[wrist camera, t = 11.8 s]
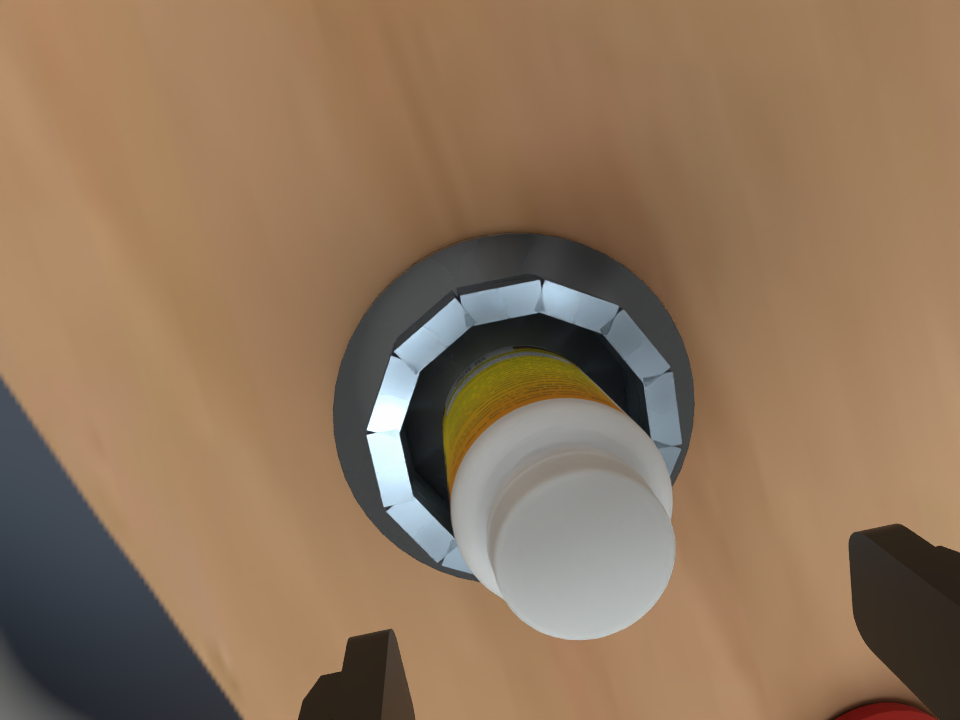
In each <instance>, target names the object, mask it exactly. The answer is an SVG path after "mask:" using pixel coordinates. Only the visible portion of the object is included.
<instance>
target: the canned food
mask: <svg viewBox="0 0 960 720" xmlns="http://www.w3.org/2000/svg"><path fill="white" fill-rule="evenodd" d="M835 720H938V719H936V718H934V717H932V716H930V715H928V714H927V713H925V712H923V711H921V710H918V709H916V708H914V707H912V706H909V705H905V704H900V703H876V704H870V705H865V706H862V707H859V708H857V709H854V710H851V711H849V712H847V713H845V714H843V715H842V716H840V717H838V718H836V719H835Z"/></svg>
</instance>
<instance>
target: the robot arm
mask: <svg viewBox="0 0 960 720" xmlns="http://www.w3.org/2000/svg"><path fill="white" fill-rule="evenodd" d="M849 560H850V575H851V590H852V605H853V614H854V619H855V622H856V625H857V628H858V630H859V632H860V635H861V636H862V638H863V640H864V642H865V643H866V645H867V646H868V647H869V649H870V650H871V651H872V652H873V653H874V654H875V655H876V656H877V657H878V658H879V659H880V660H881V661H882V662H883V663H884V664H885V665H886V666H887V667H888V668H889V669H890V670H891V671H892V672H893V673H894V674H895V675H896V676H897V677H898V678H899V679H900V680H901V681H902V682H903V683H904V684H905V685H906V686H907V687H908V688H909V689H910V690H911V691H912V692H913V693H914V694H915V695H916V696H917V697H918V698H919V699H920V700H921V701H922V702H923V703H924V704H925V705H926V706H927V707H928V708H929V709H930V710H931V711H932V712H933V713H934V714H935V715H936V716H937V717H938V718H939V719H940V720H960V553H959V552H957V551H954V550H951V549H948V548H946V547H943V546H937V547H935V546H933V545H932V544H930V543H929V542H927V541H926V540H924V539H923V538H921V537H920V536H918V535H917V534H915V533H914V532H912V531H911V530H910V529H908V528H907V527H905V526H903V525H901V524H892V525H887V526H882V527H878V528H873V529H868V530H863V531H859V532H854V533H853V534H852V535H851V536H850V539H849ZM298 720H415V714H414V709H413V704H412V700H411V696H410V692H409V688H408V684H407V680H406V676H405V671H404V667H403V663H402V659H401V655H400V651H399V647H398V643H397V639H396V636H395V633H394V631H393V630H392V629H388V630H383V631H378V632H373V633H369V634H364V635H359V636H354V637H350V638H349V639H348V642H347V646H346V651H345V657H344V662H343V667H342V671H341V672H336V673H331V674H327V675H322V676H320V678H319V679H318V681H317V682H316V683H315V685H314V686H313V687H312V689H311V690H310V692H309V693H308V694H307V696H306V697H305V698H304V700H303V702H302V706H301V710H300V714H299V718H298Z"/></svg>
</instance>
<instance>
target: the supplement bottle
mask: <svg viewBox="0 0 960 720" xmlns="http://www.w3.org/2000/svg"><path fill="white" fill-rule="evenodd" d="M442 435H443V446H444V456H445V467H446V474H447V482H448V492H449V505H450V516H451V524H452V527H453V532H454V537H455V540H456V543H457V546H458V548H459V551H460V553H461V555H462V557H463V559H464V561H465V563H466V564H467V566H468V567H469V569H470V570H471V572H472V573H473V574H474V575H475V576H476V578H477V579H478V580H479V581H480V582H481V583H482V584H483V585H484V586H486V587H487V588H488V589H489V590H490V591H492V592H493V593H495V594H496V595H498V596H499V597H501V598H502V599H504V600H505V601H506V603H507V604H508V606H509V607H510V608H511V610H512V611H513V612H514V613H515V614H516V615H517V616H518V617H519V618H520V619H521V620H522V621H523V622H525V623H526V624H527V625H529V626H531V627H532V628H534V629H536V630H537V631H539V632H542V633H544V634H546V635H549V636H553V637H557V638H562V639H567V640H589V639H596V638H601V637H604V636H608V635H611V634H613V633H616V632H618V631H620V630H623V629H625V628H627V627H628V626H630V625H631V624H633V623H635V622H636V621H637V620H639V619H640V618H641V617H643V616H644V615H645V614H646V613H647V612H648V611H649V610H650V609H651V608H652V607H653V606H654V604H655V603H656V602H657V601H658V599H659V598H660V597H661V595H662V593H663V591H664V590H665V588H666V586H667V584H668V582H669V579H670V577H671V574H672V571H673V566H674V561H675V536H674V531H673V527H672V523H671V517H672V508H673V496H672V485H671V480H670V476H669V472H668V469H667V466H666V464H665V461H664V459H663V457H662V455H661V453H660V452H659V450H658V448H657V447H656V445H655V444H654V442H653V441H652V439H651V438H650V437H649V436H648V435H647V434H646V432H645V431H644V430H643V429H642V428H641V427H640V426H639V425H638V424H637V423H635V422H634V421H633V420H632V419H631V418H630V417H629V416H628V415H627V414H626V413H625V412H624V411H623V410H622V409H621V408H620V407H619V406H618V405H617V404H616V403H615V402H614V401H613V400H612V399H611V398H610V397H609V396H608V395H607V394H606V393H605V392H604V391H603V390H602V389H601V388H600V387H599V386H597V385H596V384H595V383H594V382H593V381H592V380H591V379H590V378H589V377H588V376H587V375H586V374H585V373H584V372H583V371H582V370H581V369H580V368H579V367H577V366H576V365H575V364H574V363H573V362H572V361H570V360H569V359H567V358H566V357H564V356H563V355H561V354H559V353H557V352H555V351H552V350H550V349H547V348H543V347H539V346H532V345H512V346H507V347H502V348H499V349H496V350H493V351H491V352H489V353H486V354H484V355H483V356H481V357H479V358H478V359H476V360H475V361H474V362H472V363H471V364H470V365H469V366H468V367H467V368H466V369H465V370H464V371H463V372H462V373H461V374H460V375H459V376H458V378H457V379H456V381H455V382H454V384H453V385H452V387H451V389H450V391H449V394H448V396H447V399H446V402H445V405H444V410H443V416H442Z"/></svg>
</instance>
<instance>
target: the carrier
mask: <svg viewBox="0 0 960 720" xmlns="http://www.w3.org/2000/svg"><path fill="white" fill-rule="evenodd" d="M512 345H532V346H539V347H543V348H547V349H550V350H552V351H555V352H557V353H559V354H561V355H563V356H564V357H566V358H567V359H569V360H570V361H572V362H573V363H574V364H575V365H576V366H577V367H579V368H580V369H581V370H582V371H583V372H584V373H585V374H586V375H587V376H588V377H589V378H590V379H591V380H592V381H593V382H594V383H595V384H596V385H597V386H599V387H600V388H601V389H602V390H603V391H604V392H605V393H606V394H607V395H608V396H609V397H610V398H611V399H612V400H613V401H614V402H615V403H616V404H617V405H618V406H619V407H620V408H621V409H622V410H623V411H624V412H625V413H626V414H627V415H628V416H629V417H630V418H631V419H632V420H633V421H634V422H635V423H637V424H638V425H639V426H640V427H641V428H642V429H643V430H644V431H645V432H646V434H647V435H648V436H649V437H650V438H651V439H652V441H653V442H654V444H655V445H656V447H657V448H658V450H659V452H660V453H661V455H662V457H663V459H664V461H665V464H666V466H667V469H668V472H669V476H670V480H671V485H672V486H673V484H674V482H675V480H676V478H677V476H678V474H679V472H680V470H681V468H682V465H683V462H684V459H685V456H686V453H687V450H688V447H689V442H690V437H691V432H692V428H693V416H694V388H693V378H692V373H691V368H690V363H689V358H688V355H687V353H686V350H685V347H684V344H683V341H682V338H681V336H680V334H679V332H678V330H677V328H676V326H675V324H674V322H673V320H672V318H671V316H670V315H669V313H668V312H667V310H666V309H665V308H664V306H663V305H662V303H661V302H660V300H659V299H658V298H657V297H656V295H655V294H654V293H653V292H652V291H651V290H650V289H649V288H648V287H647V286H646V285H645V283H644V282H643V281H642V280H640V279H639V278H638V277H637V276H636V275H634V274H633V273H632V272H631V271H629V270H628V269H627V268H626V267H625V266H623V265H621V264H620V263H618V262H617V261H615V260H613V259H612V258H610V257H609V256H607V255H605V254H604V253H601V252H599V251H597V250H594V249H592V248H590V247H588V246H585V245H583V244H580V243H577V242H573V241H570V240H566V239H563V238H559V237H553V236H546V235H539V234H532V233H499V234H492V235H484V236H479V237H475V238H471V239H467V240H464V241H460V242H457V243H454V244H452V245H449V246H447V247H445V248H442V249H440V250H437V251H435V252H433V253H432V254H430V255H428V256H426V257H425V258H423V259H421V260H420V261H418V262H416V263H414V264H413V265H412V266H411V267H409V268H408V269H407V270H405V271H404V272H403V273H402V274H400V275H399V276H398V277H396V278H395V279H394V280H393V281H392V282H391V283H390V284H389V285H388V286H387V287H386V288H385V289H384V290H383V291H382V292H381V293H380V294H379V296H378V297H377V298H376V300H375V301H374V302H373V304H372V305H371V306H370V308H369V309H368V310H367V312H366V313H365V314H364V316H363V318H362V319H361V321H360V323H359V325H358V327H357V328H356V330H355V332H354V334H353V336H352V337H351V339H350V341H349V344H348V346H347V349H346V351H345V354H344V356H343V359H342V362H341V365H340V369H339V373H338V377H337V381H336V386H335V395H334V405H333V422H334V436H335V442H336V448H337V453H338V457H339V460H340V464H341V467H342V470H343V473H344V476H345V478H346V481H347V483H348V485H349V487H350V489H351V491H352V493H353V495H354V497H355V499H356V500H357V502H358V503H359V505H360V506H361V508H362V509H363V511H364V512H365V514H366V515H367V517H368V518H369V519H370V520H371V521H372V522H373V524H374V525H375V526H376V527H377V528H378V529H379V530H380V532H381V533H382V534H383V535H385V536H386V537H387V538H388V539H389V540H390V541H391V542H393V543H394V544H395V545H396V546H397V547H398V548H400V549H401V550H403V551H404V552H406V553H407V554H409V555H410V556H412V557H413V558H415V559H416V560H418V561H420V562H422V563H424V564H426V565H428V566H430V567H432V568H434V569H436V570H438V571H441V572H444V573H447V574H450V575H453V576H456V577H458V578H463V579H468V580H473V581H477V582H480V581H479V580H478V579H477V578H476V576H475V575H474V574H473V573H472V572H471V570H470V569H469V567H468V566H467V564H466V563H465V561H464V559H463V557H462V555H461V553H460V551H459V548H458V546H457V543H456V540H455V537H454V532H453V527H452V524H451V516H450V505H449V492H448V482H447V474H446V467H445V456H444V446H443V435H442V416H443V410H444V405H445V402H446V399H447V396H448V394H449V391H450V389H451V387H452V385H453V384H454V382H455V381H456V379H457V378H458V376H459V375H460V374H461V373H462V372H463V371H464V370H465V369H466V368H467V367H468V366H469V365H470V364H471V363H472V362H474V361H475V360H476V359H478V358H479V357H481V356H483V355H484V354H486V353H489V352H491V351H493V350H496V349H499V348H502V347H507V346H512Z"/></svg>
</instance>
